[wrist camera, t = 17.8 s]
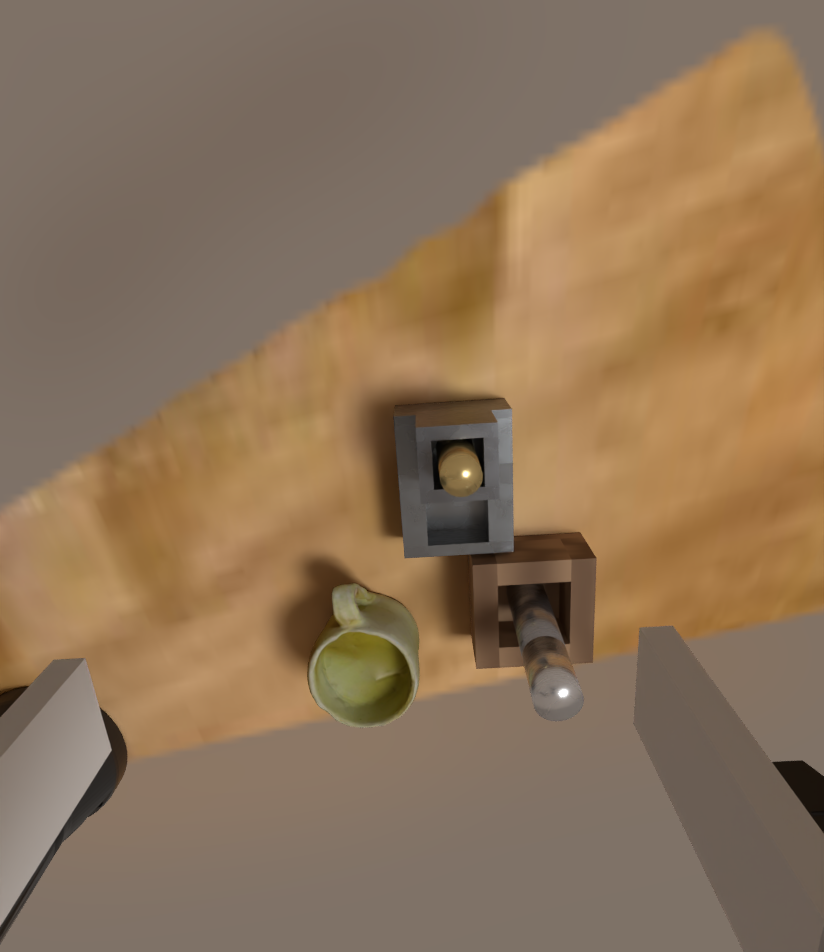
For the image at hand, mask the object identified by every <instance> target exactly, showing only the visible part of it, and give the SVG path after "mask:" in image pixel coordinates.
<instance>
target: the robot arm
mask: <svg viewBox="0 0 824 952" xmlns="http://www.w3.org/2000/svg"><path fill="white" fill-rule="evenodd" d="M634 726H635V728H636V730H637V732H638V734H639V736H640V738H641V740H642V742H643V744H644V746H645V749H646V751H647V753H648V755H649V757H650V759H651V761H652V763H653V765H654V767H655V769H656V771H657V773H658V776H659V778H660V779H661V781H662V784H663V786H664V788H665V790H666V792H667V794H668V796H669V798H670V800H671V802H672V805H673V806H674V809H675V811H676V813H677V815H678V817H679V819H680V821H681V823H682V825H683V827H684V829H685V831H686V833H687V836H688V837H689V840H690V842H691V844H692V846H693V848H694V850H695V852H696V854H697V856H698V858H699V860H700V862H701V864H702V867H703V869H704V871H705V873H706V875H707V877H708V879H709V881H710V883H711V885H712V887H713V889H714V892H715V894H716V896H717V898H718V900H719V902H720V904H721V906H722V908H723V910H724V912H725V914H726V916H727V919H728V920H729V923H730V925H731V927H732V929H733V931H734V933H735V935H736V937H737V939H738V941H739V943H740V945H741V948H742V949H743V952H824V776H823V775H821V774H820V773H818V772H817V771H816V770H815V769H813V768H812V767H811V766H809V765H808V764H806V763H805V762H804V761H782V762H771V760H770V759H769V758H768V756H767V755H766V753H765V752H764V751H763V749H762V748H761V746H760V745H759V744H758V742H757V741H756V740H755V738H754V737H753V735H752V734H751V733H750V731H749V730H748V729H747V727H746V726H745V724H744V723H743V722H742V720H741V719H740V718H739V716H738V715H737V713H736V712H735V711H734V709H733V708H732V707H731V705H730V704H729V702H728V701H727V700H726V698H725V697H724V696H723V694H722V693H721V691H720V690H719V689H718V687H717V686H716V685H715V683H714V682H713V680H712V679H711V678H710V676H709V675H708V674H707V672H706V671H705V669H704V668H703V667H702V665H701V664H700V662H699V661H698V660H697V658H696V657H695V656H694V654H693V653H692V651H691V650H690V649H689V647H688V646H687V645H686V643H685V642H684V640H683V639H682V638H681V636H680V635H679V634H678V632H677V631H676V629H675V628H674V627H673V626H661V627H643V628H640V631H639V646H638V662H637V678H636V692H635V707H634ZM126 766H127V749H126V745H125V742H124V739H123V737H122V734H121V733H120V731H119V729H118V727H117V726H116V725H115V723H114V722H113V721H112V720H111V718H110V717H109V716H108V715H107V714H106V713H104V712H103V711H102V710H101V709H100V708H99V704H98V701H97V697H96V694H95V690H94V687H93V683H92V680H91V676H90V673H89V670H88V666H87V663H86V659H85V658H79V659H60V660H53V661H52V662H51V663H50V664H49V665H48V667H47V668H46V669H45V670H44V671H43V672H42V673H41V674H40V675H39V676H38V677H37V678H36V679H35V681H34V682H33V683H32V684H31V685H30V686H29V687H25V688H19V689H15V690H12V691H9V692H6V693H4V694H2V695H0V944H1V942H2V941H3V939H4V937H5V936H6V934H7V932H8V931H9V929H10V927H11V926H12V924H13V922H14V921H15V919H16V918H17V916H18V914H19V913H20V911H21V909H22V908H23V906H24V904H25V903H26V901H27V899H28V898H29V896H30V894H31V893H32V891H33V890H34V888H35V886H36V884H37V883H38V881H39V880H40V878H41V876H42V875H43V873H44V871H45V870H46V868H47V867H48V865H49V863H50V861H51V860H52V858H53V856H54V855H55V853H56V852H57V850H58V849H59V847H60V845H61V844H62V842H63V841H64V840H66V839H67V838H68V837H69V836H70V835H71V834H72V833H73V832H74V831H75V830H76V829H77V828H78V827H79V826H80V825H81V824H82V823H83V822H84V821H85V820H86V818H87V817H89V816H91V815H92V814H94V813H95V812H97V811H98V810H99V809H100V808H101V807H102V806H104V805H105V803H106V802H107V801H108V800H109V799H110V797H111V796H112V794H113V793H114V791H115V789H116V788H117V786H118V784H119V783H120V781H121V779H122V777H123V775H124V772H125V770H126Z"/></svg>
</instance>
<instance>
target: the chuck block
mask: <svg viewBox="0 0 824 952" xmlns="http://www.w3.org/2000/svg"><path fill="white" fill-rule="evenodd" d="M394 429H395V442H396V454H397V467H398V480H399V492H400V505H401V518H402V530H403V543H404V556H405V558H417V557H434V556H451V555H468V554H485V553H502V552H514V532H513V457H512V408H511V407H510V406H509V404H508V403H507V401H506V400H505V398H501V399H486V400H471V401H455V402H440V403H425V404H409V405H395V410H394ZM468 438H471V440H472V442H473V445H474V448H475V451H476V454H477V457H478V460H479V463H480V466H481V469H482V473H483V480H482V483H481V485H480V487H479V488H478V490H477V491H476V492H474V493H473V494H471V495H469V496H466V497H456V496H453V495H451V494H449V493H447V492H446V491H445V490H444V488H443V487H442V485H441V482H440V475H439V467H438V459H437V450H436V444H437V441H438V440H452V439H468Z"/></svg>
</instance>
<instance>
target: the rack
mask: <svg viewBox="0 0 824 952" xmlns="http://www.w3.org/2000/svg"><path fill="white" fill-rule="evenodd" d="M468 566H469V590H470V614H471V636H472V643H473V649H474V656H475V662H476V669H482V668H501V667H520V666H524V664H523V660H522V656H521V652H520V647H519V643H518V639H517V635H516V631H515V627H514V623H513V619H512V615H511V610H510V606H509V602H508V598H507V593H506V591H507V587H508V585H520V584H538V583H543V585H544V588H545V591H546V594H547V596H548V599H549V602H550V605H551V607H552V610H553V613H554V616H555V619H556V621H557V624H558V627H559V630H560V632H561V635H562V638H563V641H564V644H565V646H566V649H567V652H568V655H569V657H570V660H571V663H572V664H576V663H593V640H594V612H595V585H596V557H595V555H594V553H593V552H592V550H591V549H590V547H589V546H588V544H587V542H586V541H585V539H584V538H583V536H582V534H581V533H564V534H547V535H530V536H514V552H502V553H485V554H468Z"/></svg>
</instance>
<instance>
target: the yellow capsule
mask: <svg viewBox="0 0 824 952" xmlns="http://www.w3.org/2000/svg"><path fill="white" fill-rule="evenodd" d="M436 450H437V459H438V467H439V475H440V482H441V485H442V487H443V488H444V490H445V491H446V492H447V493H449V494H451V495H453V496H456V497H466V496H469V495H471V494H473V493H474V492H476V491H477V490H478V488H479V487H480V485H481V483H482V480H483V473H482V469H481V466H480V463H479V460H478V457H477V454H476V451H475V448H474V445H473V442H472V440H471V438H468V439H452V440H438V441H437V444H436Z"/></svg>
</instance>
